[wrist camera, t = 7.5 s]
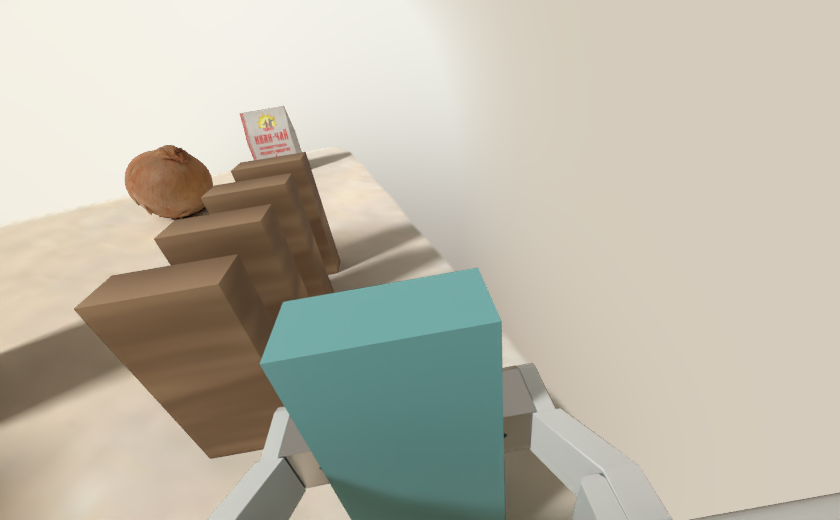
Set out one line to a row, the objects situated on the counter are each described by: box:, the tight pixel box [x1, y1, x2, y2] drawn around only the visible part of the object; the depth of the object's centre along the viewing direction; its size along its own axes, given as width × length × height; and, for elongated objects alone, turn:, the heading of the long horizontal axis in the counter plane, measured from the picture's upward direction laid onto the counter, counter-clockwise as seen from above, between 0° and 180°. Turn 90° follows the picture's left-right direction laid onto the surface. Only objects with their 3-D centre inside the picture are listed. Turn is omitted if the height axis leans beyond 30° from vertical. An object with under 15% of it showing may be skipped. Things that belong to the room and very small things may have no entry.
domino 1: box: [154, 204, 309, 324], centre depth 20 cm, size 2×5×10 cm, turn 96°
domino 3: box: [231, 152, 340, 275], centre depth 28 cm, size 2×5×10 cm, turn 96°
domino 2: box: [74, 254, 285, 459], centre depth 15 cm, size 2×5×10 cm, turn 96°
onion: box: [125, 145, 213, 220], centre depth 46 cm, size 10×9×10 cm
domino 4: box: [201, 173, 334, 297], centre depth 24 cm, size 2×5×10 cm, turn 96°
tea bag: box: [240, 106, 302, 160], centre depth 55 cm, size 4×7×10 cm, turn 98°
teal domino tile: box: [260, 268, 505, 520], centre depth 11 cm, size 2×5×10 cm, turn 96°
